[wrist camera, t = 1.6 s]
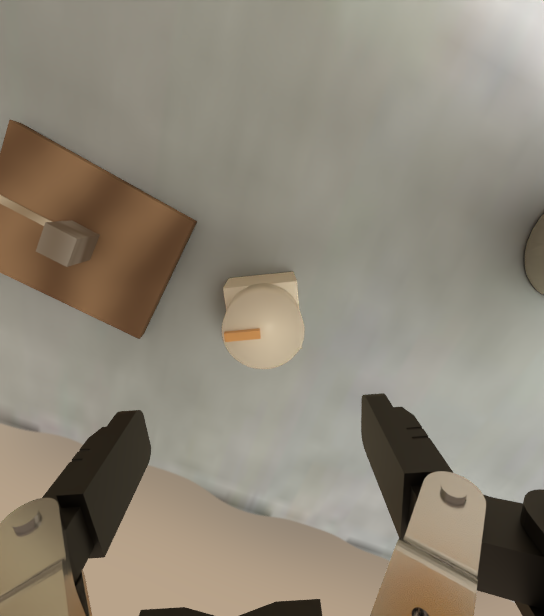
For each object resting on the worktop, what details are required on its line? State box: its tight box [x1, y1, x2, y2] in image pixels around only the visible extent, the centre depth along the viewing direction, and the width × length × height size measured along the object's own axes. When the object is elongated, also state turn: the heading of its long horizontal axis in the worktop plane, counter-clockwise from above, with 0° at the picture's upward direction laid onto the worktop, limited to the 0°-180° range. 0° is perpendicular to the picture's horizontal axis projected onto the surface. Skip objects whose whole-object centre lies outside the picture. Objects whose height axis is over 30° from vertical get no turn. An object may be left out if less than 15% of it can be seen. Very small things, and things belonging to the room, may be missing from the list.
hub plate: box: [0, 120, 197, 339], centre depth 24 cm, size 14×11×4 cm
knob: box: [222, 272, 304, 369], centre depth 24 cm, size 6×6×6 cm
